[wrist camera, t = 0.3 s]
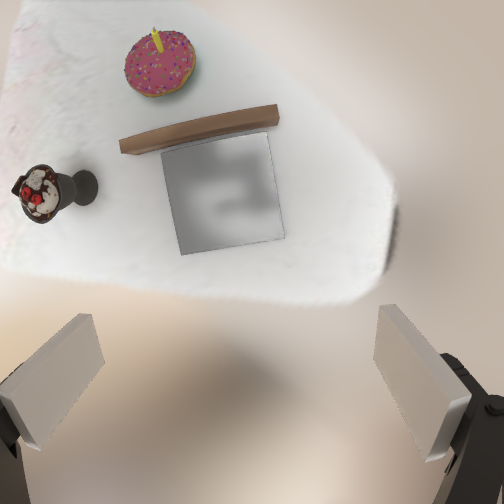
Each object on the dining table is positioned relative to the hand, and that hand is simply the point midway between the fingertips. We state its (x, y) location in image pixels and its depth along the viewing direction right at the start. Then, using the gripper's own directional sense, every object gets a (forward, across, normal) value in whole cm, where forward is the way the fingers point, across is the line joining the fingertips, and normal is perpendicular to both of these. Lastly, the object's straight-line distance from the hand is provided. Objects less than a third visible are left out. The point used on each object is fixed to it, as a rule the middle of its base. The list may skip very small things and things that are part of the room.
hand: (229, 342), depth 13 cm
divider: (+27, -5, +12) cm, 30 cm away
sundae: (+27, -23, +7) cm, 36 cm away
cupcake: (+28, -9, +21) cm, 36 cm away
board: (+27, -3, +4) cm, 28 cm away
